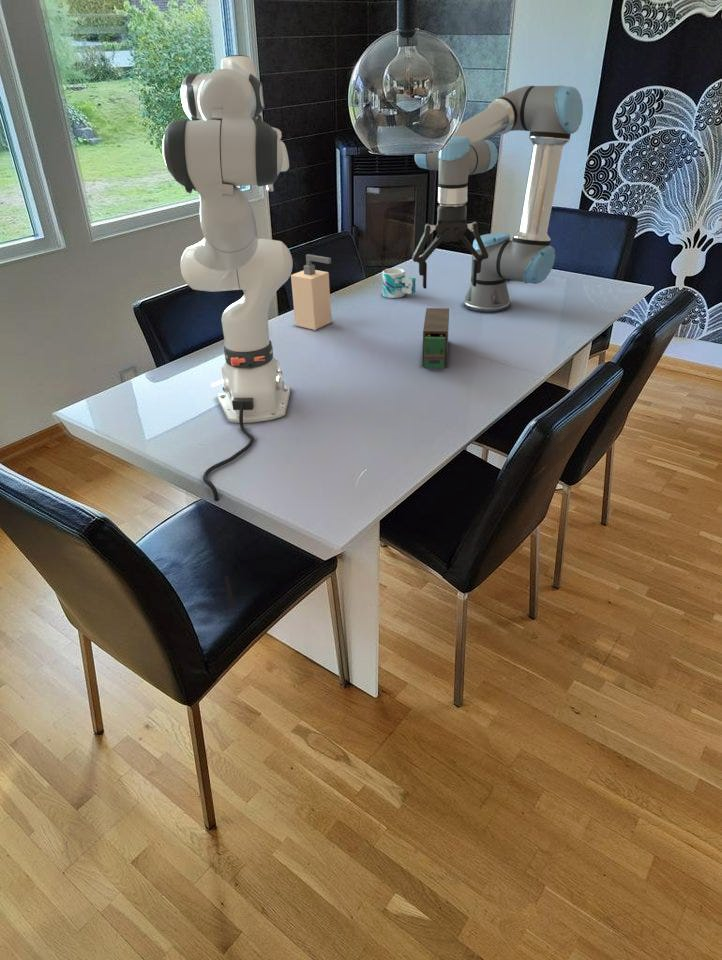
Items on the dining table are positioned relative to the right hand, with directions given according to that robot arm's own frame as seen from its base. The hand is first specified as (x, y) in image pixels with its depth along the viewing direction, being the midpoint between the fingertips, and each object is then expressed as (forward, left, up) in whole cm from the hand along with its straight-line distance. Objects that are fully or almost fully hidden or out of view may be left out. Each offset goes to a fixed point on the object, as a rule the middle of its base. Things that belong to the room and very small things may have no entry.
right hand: (449, 286), depth 184 cm
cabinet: (+3, -2, -19) cm, 20 cm away
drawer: (+8, 0, -18) cm, 20 cm away
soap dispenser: (-5, -46, -19) cm, 50 cm away
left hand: (+22, -47, +25) cm, 58 cm away
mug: (-42, -35, -19) cm, 58 cm away
